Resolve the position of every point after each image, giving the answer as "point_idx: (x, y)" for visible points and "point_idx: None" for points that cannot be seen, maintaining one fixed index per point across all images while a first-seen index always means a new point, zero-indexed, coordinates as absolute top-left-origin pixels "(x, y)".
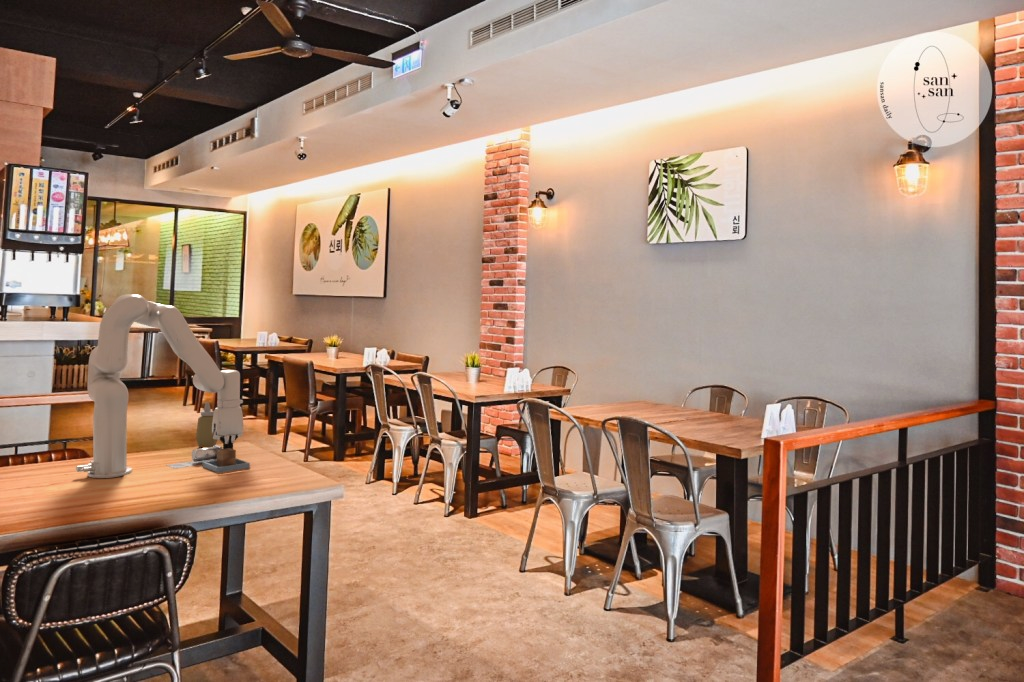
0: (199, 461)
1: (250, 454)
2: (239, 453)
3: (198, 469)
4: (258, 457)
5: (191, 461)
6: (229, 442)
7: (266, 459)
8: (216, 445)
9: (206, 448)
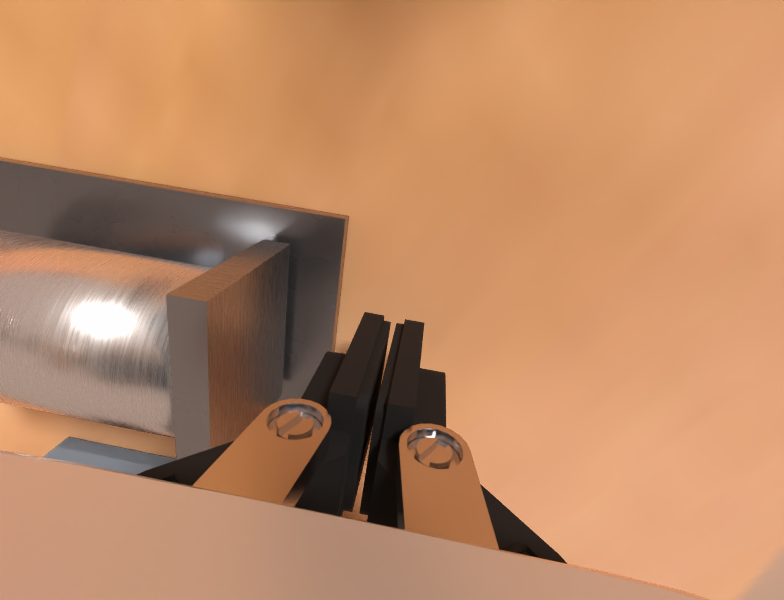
0: (98, 238)
1: (768, 294)
2: (759, 122)
3: (34, 435)
4: (666, 470)
5: (26, 171)
6: (370, 500)
7: (630, 569)
8: (195, 352)
9: (8, 392)
